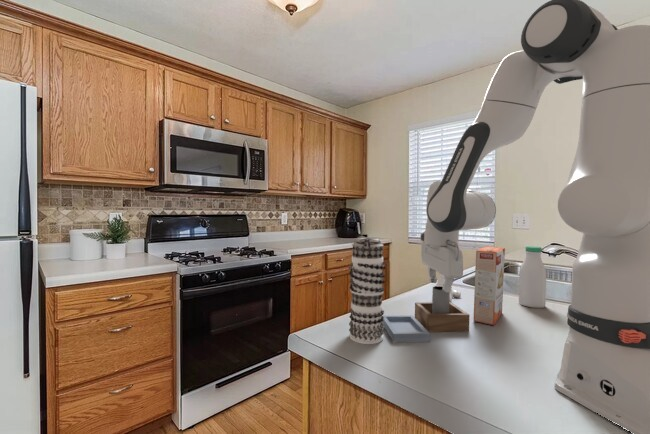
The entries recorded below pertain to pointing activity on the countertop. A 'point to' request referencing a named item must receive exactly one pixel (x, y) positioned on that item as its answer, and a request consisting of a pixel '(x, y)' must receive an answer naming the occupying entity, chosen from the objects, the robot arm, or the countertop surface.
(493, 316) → the cracker box
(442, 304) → the grey cylinder
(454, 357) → the countertop surface
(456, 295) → the sitting furry creature
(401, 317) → the tray
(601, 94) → the robot arm
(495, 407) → the countertop surface
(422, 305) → the box
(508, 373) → the countertop surface
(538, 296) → the milk bottle
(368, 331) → the decorative candle
